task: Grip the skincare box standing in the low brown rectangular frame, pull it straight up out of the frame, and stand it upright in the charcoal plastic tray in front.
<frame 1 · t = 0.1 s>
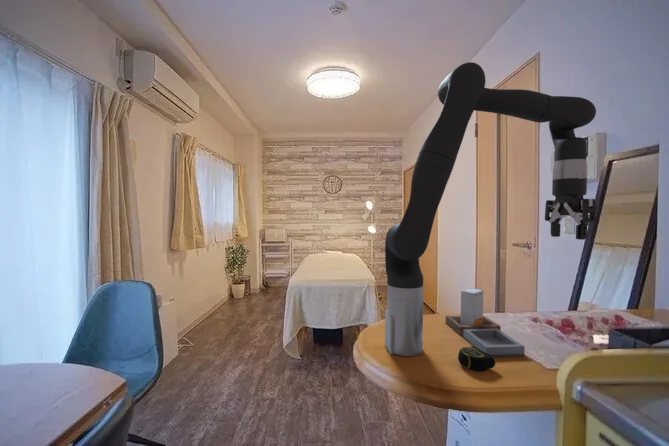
hand: (567, 237, 87), 29 cm above the breakfast bar, fingers open, 8 cm apart
brown rectangular frame: (471, 328, 99), on the breakfast bar
tray: (491, 346, 86), on the breakfast bar
tape measure: (475, 367, 76), on the breakfast bar
skincare box: (471, 329, 99), resting in brown rectangular frame
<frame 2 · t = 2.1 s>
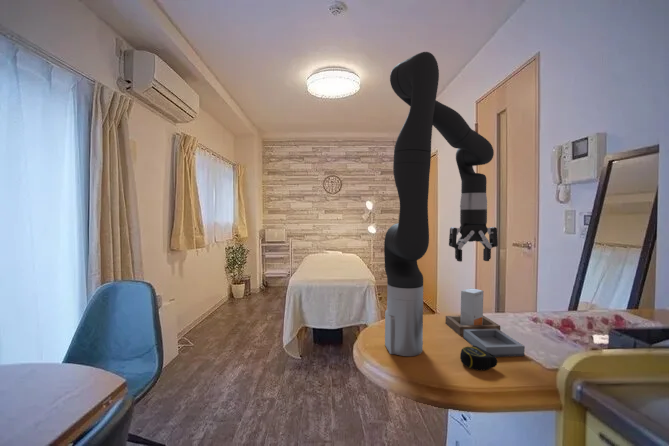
hand: (472, 261, 98), 21 cm above the breakfast bar, fingers open, 8 cm apart
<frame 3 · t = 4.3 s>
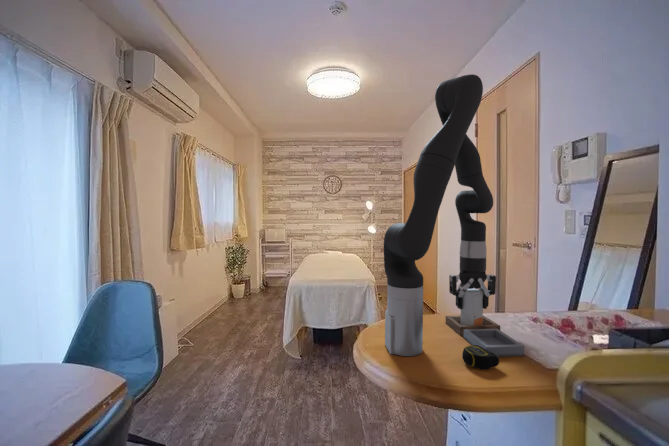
hand: (472, 308, 99), 6 cm above the breakfast bar, fingers closed on skincare box, 7 cm apart
skincare box: (471, 329, 99), resting in brown rectangular frame, touching gripper
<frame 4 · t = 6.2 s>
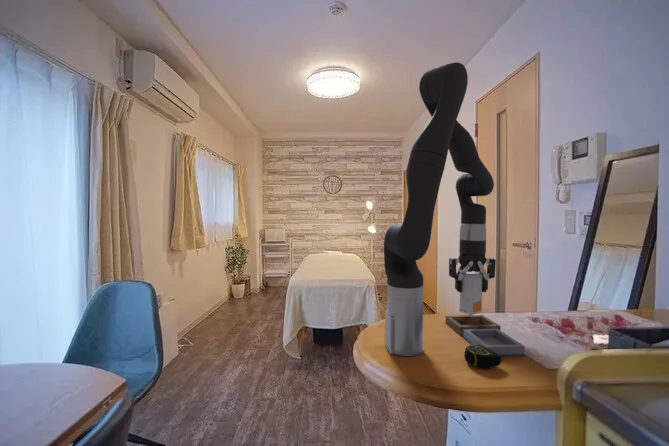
hand: (471, 291, 99), 12 cm above the breakfast bar, fingers closed on skincare box, 7 cm apart
skincare box: (470, 312, 99), point 5 cm above the breakfast bar, touching gripper
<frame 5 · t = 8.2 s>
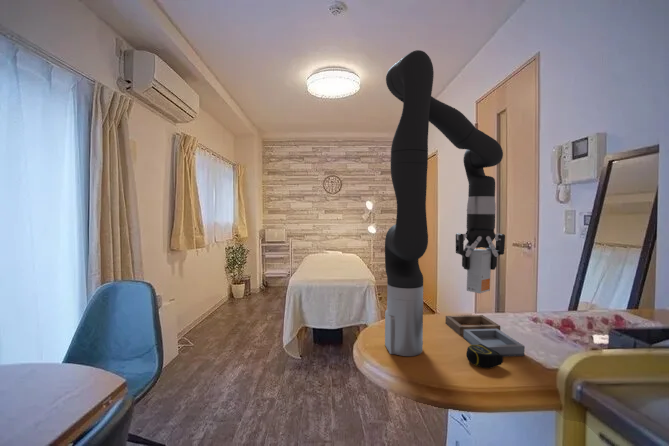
hand: (479, 269, 93), 20 cm above the breakfast bar, fingers closed on skincare box, 7 cm apart
skincare box: (478, 291, 94), point 13 cm above the breakfast bar, touching gripper
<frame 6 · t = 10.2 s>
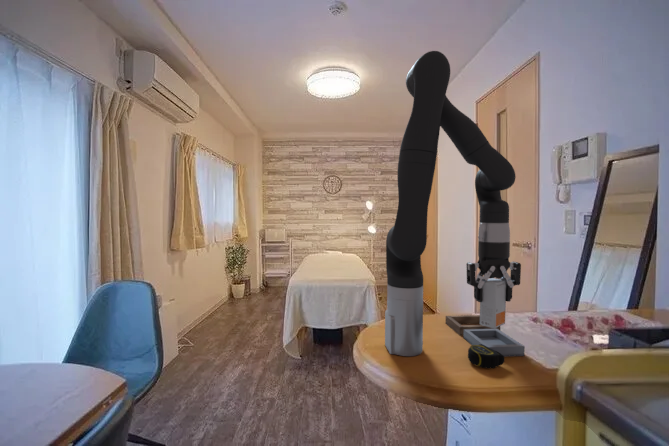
hand: (493, 301, 86), 12 cm above the breakfast bar, fingers closed on skincare box, 7 cm apart
skincare box: (492, 325, 86), point 6 cm above the breakfast bar, touching gripper
when the fingers open (8 cm above the breakfast bar, at t = 12.0 s): skincare box drops 1 cm, resting on tray.
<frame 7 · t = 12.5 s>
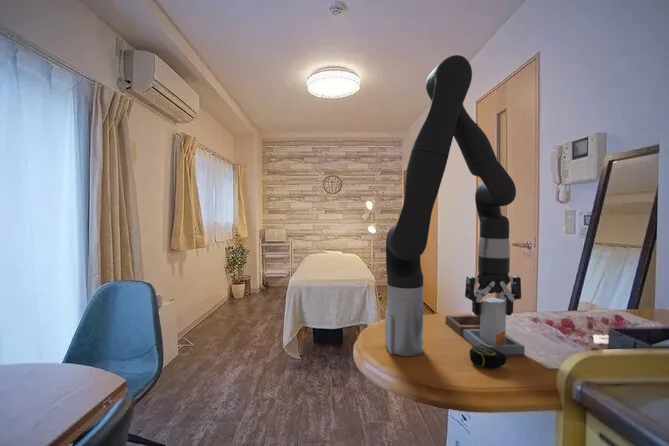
hand: (492, 314, 86), 9 cm above the breakfast bar, fingers open, 8 cm apart
skincare box: (492, 345, 86), resting on tray
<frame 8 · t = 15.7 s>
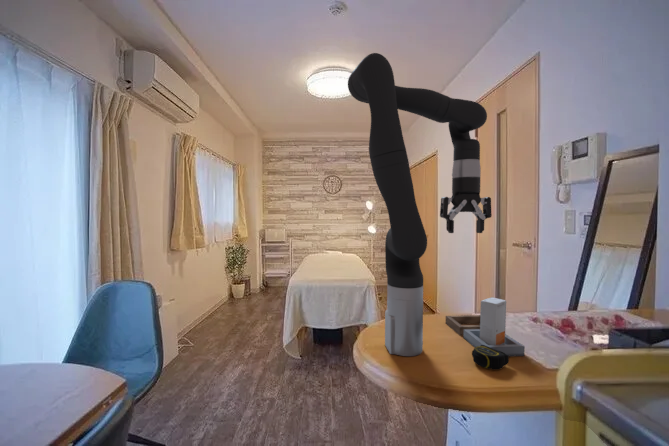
hand: (465, 233, 93), 30 cm above the breakfast bar, fingers open, 8 cm apart
at the end: skincare box inside the target area on the tray (0.1 cm from its centre), point 0.4 cm above the tray's base; skincare box tilted 0°; the gripper is holding nothing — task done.
